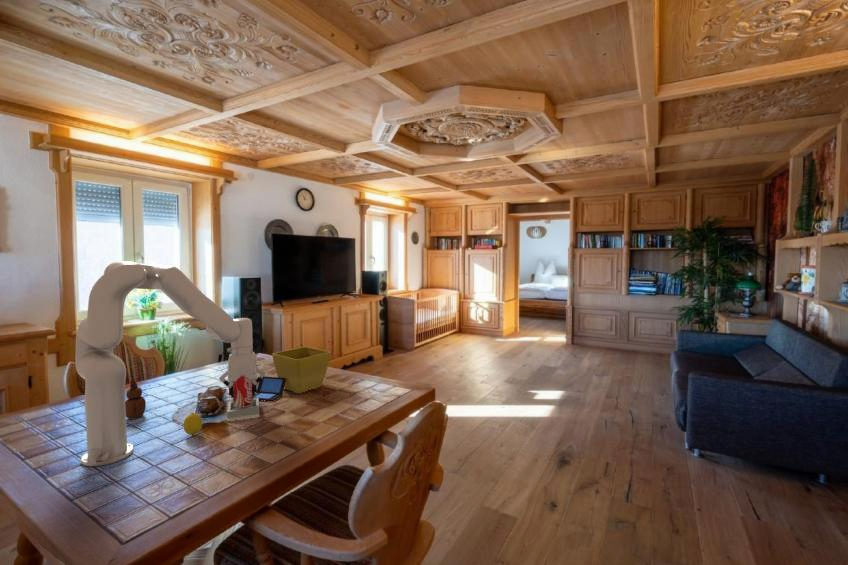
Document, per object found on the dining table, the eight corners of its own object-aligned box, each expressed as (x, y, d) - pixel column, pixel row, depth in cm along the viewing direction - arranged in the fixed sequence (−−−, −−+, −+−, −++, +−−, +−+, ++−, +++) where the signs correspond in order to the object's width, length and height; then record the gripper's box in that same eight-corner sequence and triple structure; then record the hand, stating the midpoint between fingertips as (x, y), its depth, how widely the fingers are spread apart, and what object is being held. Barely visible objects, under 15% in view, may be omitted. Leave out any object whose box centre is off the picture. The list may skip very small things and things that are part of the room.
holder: (259, 417, 152) (259, 408, 152) (227, 422, 148) (226, 412, 148) (258, 405, 164) (258, 397, 164) (228, 409, 160) (228, 400, 160)
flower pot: (305, 379, 200) (305, 345, 199) (331, 386, 189) (331, 351, 187) (271, 389, 184) (271, 353, 183) (297, 398, 173) (297, 359, 172)
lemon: (199, 430, 141) (199, 408, 140) (204, 435, 137) (204, 412, 136) (181, 435, 137) (181, 412, 136) (186, 441, 133) (185, 417, 132)
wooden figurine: (133, 421, 148) (131, 381, 147) (120, 420, 149) (118, 380, 148) (149, 414, 154) (148, 376, 153) (137, 413, 156) (135, 375, 155)
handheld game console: (246, 400, 171) (246, 383, 170) (261, 392, 181) (261, 376, 181) (273, 402, 168) (273, 385, 168) (286, 394, 179) (286, 377, 178)
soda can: (230, 406, 156) (229, 373, 155) (248, 401, 161) (247, 369, 160) (237, 411, 151) (236, 377, 150) (256, 406, 156) (255, 373, 155)
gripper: (215, 354, 147) (217, 402, 149) (266, 350, 154) (267, 395, 156) (217, 350, 154) (218, 395, 156) (265, 346, 161) (266, 389, 162)
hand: (243, 395), depth 156 cm, fingers closed on soda can, 7 cm apart
